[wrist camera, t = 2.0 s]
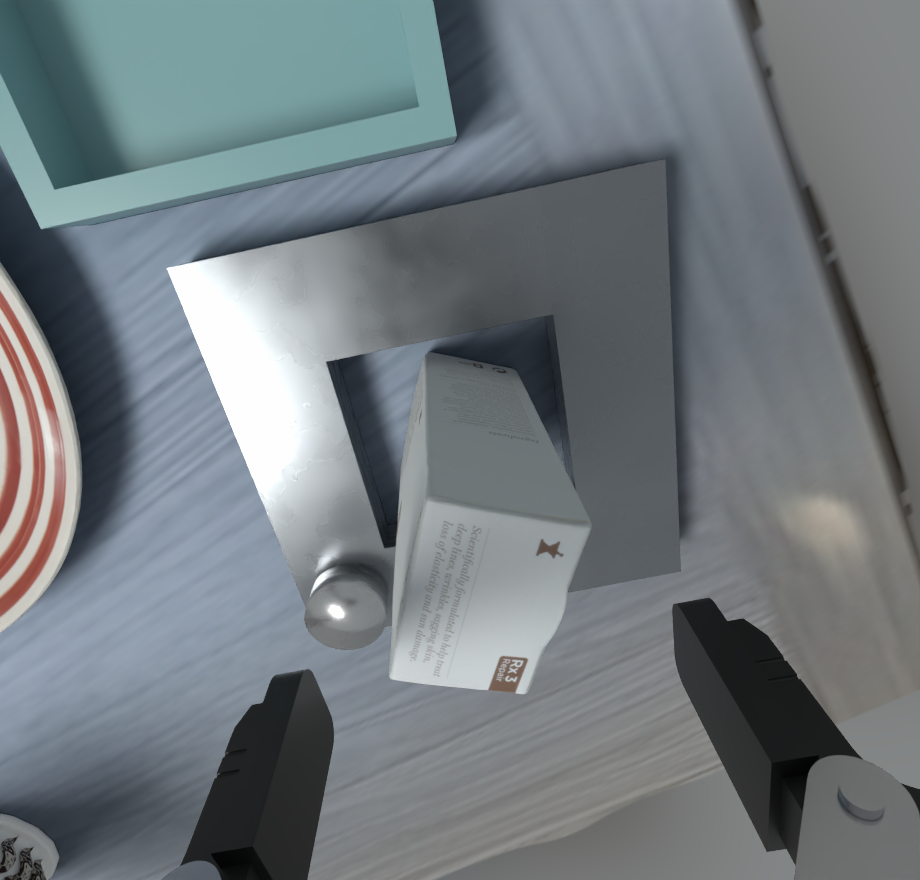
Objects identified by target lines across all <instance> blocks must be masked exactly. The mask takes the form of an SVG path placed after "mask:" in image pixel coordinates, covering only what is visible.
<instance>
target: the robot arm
mask: <svg viewBox="0 0 920 880" xmlns="http://www.w3.org/2000/svg"><path fill="white" fill-rule="evenodd" d="M672 613H673V632H674V651H675V660H676V665H677V669H678V673H679V676H680V678H681V681H682V684H683V686H684V688H685V690H686V692H687V694H688V696H689V698H690V700H691V702H692V704H693V706H694V708H695V710H696V712H697V714H698V716H699V718H700V720H701V722H702V724H703V726H704V728H705V730H706V732H707V734H708V736H709V738H710V740H711V742H712V744H713V746H714V748H715V750H716V752H717V754H718V756H719V757H720V759H721V761H722V763H723V765H724V767H725V769H726V771H727V773H728V775H729V777H730V779H731V781H732V783H733V785H734V787H735V789H736V791H737V793H738V795H739V797H740V799H741V801H742V803H743V805H744V807H745V809H746V811H747V813H748V815H749V817H750V819H751V821H752V823H753V825H754V827H755V829H756V831H757V833H758V835H759V837H760V839H761V841H762V843H763V845H764V847H765V849H766V851H767V852H769V851H775V850H781V849H787V851H788V852H789V854H790V856H791V858H792V860H793V862H794V863H795V866H796V867H795V875H794V880H920V789H916V788H913V787H910V786H907V785H904V784H902V783H900V782H899V781H898V780H896V779H895V778H894V777H893V776H892V775H891V774H889V773H888V772H886V771H885V770H883V769H882V768H880V767H878V766H876V765H874V764H873V763H870V762H868V761H865V760H863V759H862V758H861V757H860V756H859V755H858V754H857V753H856V752H855V750H854V749H853V748H852V747H851V746H850V744H849V743H848V741H847V740H846V739H845V738H844V736H843V735H842V733H841V732H840V731H839V730H838V728H837V727H836V726H835V724H834V723H833V722H832V720H831V719H830V718H829V716H828V715H827V714H826V712H825V711H824V710H823V708H822V707H821V706H820V704H819V703H818V702H817V700H816V699H815V698H814V696H813V695H812V694H811V692H810V691H809V690H808V688H807V687H806V686H805V685H804V683H803V682H802V681H801V679H798V677H797V674H796V673H795V671H794V670H793V669H792V667H791V666H790V665H789V663H788V662H787V661H785V660H784V658H783V655H782V654H781V653H780V651H779V650H778V649H777V647H776V646H775V645H774V643H773V642H772V641H771V640H770V638H769V637H768V636H767V635H766V634H765V633H763V632H762V631H760V630H759V629H758V628H756V627H755V626H753V625H752V624H750V623H749V622H747V621H746V620H745V619H738V620H732V621H727V620H726V619H725V617H724V616H723V614H722V613H721V611H720V610H719V609H718V607H717V606H716V604H715V603H714V602H713V600H712V599H710V598H705V599H699V600H694V601H688V602H683V603H677V604H674V605H673V609H672ZM333 742H334V729H333V722H332V717H331V714H330V712H329V710H328V707H327V705H326V703H325V700H324V698H323V696H322V693H321V691H320V689H319V686H318V684H317V682H316V679H315V677H314V675H313V673H312V671H311V670H309V669H307V670H301V671H296V672H290V673H285V674H279V675H275V676H274V677H273V678H272V680H271V682H270V684H269V687H268V690H267V693H266V696H265V699H264V701H263V703H261V704H255V705H252V706H251V707H250V708H249V710H248V711H247V712H246V714H245V715H244V716H243V718H242V719H241V720H240V721H239V723H238V724H237V725H236V727H235V728H234V731H233V733H232V736H231V738H230V741H229V744H228V746H227V749H226V751H225V757H223V759H222V762H221V764H220V767H219V769H218V772H217V778H215V780H214V782H213V785H212V787H211V790H210V793H209V795H208V798H207V800H206V803H205V805H204V808H203V811H202V813H201V816H200V818H199V821H198V823H197V826H196V829H195V831H194V834H193V836H192V839H191V842H190V844H189V847H188V849H187V852H186V854H185V857H184V859H183V861H182V863H181V865H180V867H178V868H176V869H174V870H173V871H172V872H170V873H169V874H168V875H166V876H165V877H164V878H163V879H162V880H307V878H308V873H309V868H310V862H311V857H312V852H313V847H314V842H315V837H316V832H317V826H318V821H319V816H320V811H321V806H322V801H323V795H324V790H325V785H326V780H327V775H328V770H329V765H330V759H331V754H332V749H333Z"/></svg>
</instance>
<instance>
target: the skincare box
mask: <svg viewBox="0 0 920 880" xmlns="http://www.w3.org/2000/svg"><path fill="white" fill-rule="evenodd" d="M591 527H592V524H591V521H590V518H589V516H588V514H587V512H586V510H585V508H584V506H583V504H582V502H581V500H580V498H579V496H578V494H577V492H576V490H575V488H574V486H573V484H572V482H571V480H570V478H569V476H568V474H567V472H566V470H565V468H564V466H563V464H562V462H561V460H560V458H559V456H558V454H557V452H556V450H555V448H554V446H553V444H552V442H551V440H550V438H549V435H548V433H547V431H546V429H545V427H544V425H543V424H542V422H541V419H540V417H539V415H538V413H537V411H536V409H535V407H534V405H533V403H532V401H531V399H530V397H529V395H528V393H527V391H526V389H525V387H524V385H523V382H522V381H521V379H520V377H519V374H518V373H517V371H516V370H514V369H512V368H507V367H502V366H497V365H492V364H488V363H482V362H477V361H473V360H468V359H463V358H458V357H453V356H448V355H443V354H438V353H433V352H429V353H427V354H426V355H425V357H424V359H423V363H422V366H421V370H420V374H419V378H418V381H417V385H416V389H415V393H414V398H413V402H412V407H411V412H410V417H409V422H408V427H407V433H406V439H405V445H404V451H403V458H402V465H401V477H400V492H399V507H398V524H397V532H396V553H395V570H394V586H393V607H392V639H391V655H390V668H389V677H390V678H391V679H393V680H399V681H406V682H413V683H420V684H429V685H439V686H449V687H460V688H470V689H479V690H491V691H502V692H512V693H518V694H526V693H527V692H528V691H529V689H530V688H531V685H532V682H533V679H534V676H535V674H536V671H537V669H538V666H539V664H540V661H541V658H542V656H543V653H544V650H545V648H546V645H547V644H548V642H549V641H550V640H551V638H552V637H553V635H554V633H555V632H556V630H557V628H558V626H559V624H560V622H561V619H562V617H563V615H564V611H565V608H566V603H567V597H568V589H569V586H570V584H571V581H572V578H573V575H574V573H575V570H576V567H577V565H578V562H579V560H580V557H581V554H582V551H583V549H584V546H585V543H586V541H587V538H588V536H589V533H590V531H591Z"/></svg>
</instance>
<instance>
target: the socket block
mask: <svg viewBox="0 0 920 880" xmlns="http://www.w3.org/2000/svg"><path fill="white" fill-rule="evenodd" d="M167 269H168V272H169V274H170V277H171V279H172V282H173V284H174V287H175V289H176V291H177V294H178V296H179V299H180V301H181V304H182V306H183V309H184V311H185V313H186V316H187V318H188V321H189V323H190V326H191V328H192V331H193V333H194V335H195V338H196V340H197V343H198V345H199V348H200V350H201V353H202V355H203V357H204V360H205V362H206V365H207V367H208V370H209V372H210V375H211V377H212V379H213V382H214V384H215V387H216V389H217V392H218V394H219V397H220V399H221V401H222V404H223V406H224V409H225V411H226V414H227V416H228V419H229V421H230V423H231V426H232V428H233V431H234V433H235V436H236V438H237V441H238V443H239V445H240V448H241V450H242V453H243V455H244V458H245V460H246V463H247V465H248V467H249V470H250V472H251V475H252V477H253V480H254V482H255V485H256V487H257V489H258V492H259V494H260V497H261V499H262V502H263V504H264V507H265V509H266V511H267V514H268V516H269V519H270V521H271V524H272V526H273V529H274V531H275V533H276V536H277V538H278V541H279V543H280V546H281V548H282V551H283V553H284V555H285V558H286V560H287V563H288V565H289V568H290V570H291V573H292V575H293V577H294V580H295V582H296V585H297V587H298V590H299V592H300V595H301V597H302V599H303V602H304V604H305V607H306V611H305V624H306V627H307V629H308V631H309V632H310V634H311V635H312V636H313V637H314V638H315V639H316V640H317V641H319V642H320V643H322V644H324V645H326V646H329V647H331V648H335V649H341V650H352V649H358V648H362V647H365V646H367V645H369V644H371V643H372V642H374V641H375V640H376V639H377V638H378V637H379V636H380V635H381V633H382V632H383V630H384V627H387V626H392V607H393V586H394V570H395V553H396V532H397V524H398V523H393V524H387V521H386V518H385V514H384V511H383V508H382V504H381V501H380V498H379V494H378V491H377V488H376V485H375V481H374V478H373V475H372V471H371V468H370V465H369V461H368V458H367V455H366V452H365V448H364V445H363V442H362V438H361V435H360V432H359V429H358V425H357V422H356V419H355V415H354V412H353V409H352V405H351V402H350V399H349V396H348V392H347V389H346V386H345V382H344V379H343V376H342V372H341V369H340V366H339V363H338V359H342V358H347V357H352V356H356V355H361V354H366V353H371V352H376V351H380V350H385V349H390V348H395V347H400V346H404V345H409V344H414V343H419V342H423V341H428V340H433V339H438V338H443V337H447V336H452V335H457V334H462V333H466V332H471V331H476V330H481V329H486V328H490V327H495V326H500V325H505V324H509V323H514V322H519V321H524V320H529V319H533V318H538V317H543V316H545V318H546V325H547V332H548V340H549V347H550V355H551V362H552V370H553V377H554V385H555V392H556V400H557V407H558V415H559V422H560V430H561V437H562V445H563V452H564V460H565V467H566V472H567V474H568V476H569V478H570V480H571V482H572V484H573V486H574V488H575V490H576V492H577V494H578V496H579V498H580V500H581V502H582V504H583V506H584V508H585V510H586V512H587V514H588V516H589V518H590V521H591V524H592V527H591V531H590V533H589V536H588V538H587V541H586V543H585V546H584V549H583V551H582V554H581V557H580V560H579V562H578V565H577V567H576V570H575V573H574V575H573V578H572V581H571V584H570V586H569V589H568V592H573V591H579V590H584V589H589V588H595V587H600V586H605V585H611V584H616V583H621V582H627V581H632V580H637V579H643V578H648V577H653V576H659V575H664V574H669V573H675V572H680V571H681V563H680V536H679V509H678V482H677V455H676V428H675V401H674V374H673V347H672V320H671V293H670V266H669V239H668V212H667V185H666V159H663V160H657V161H651V162H645V163H640V164H636V165H631V166H627V167H622V168H617V169H613V170H608V171H604V172H599V173H595V174H590V175H586V176H581V177H576V178H572V179H567V180H563V181H558V182H554V183H549V184H544V185H540V186H535V187H531V188H526V189H522V190H517V191H513V192H508V193H503V194H499V195H494V196H490V197H485V198H481V199H476V200H472V201H467V202H462V203H458V204H453V205H449V206H444V207H440V208H435V209H430V210H426V211H421V212H417V213H412V214H408V215H403V216H399V217H394V218H389V219H385V220H380V221H376V222H371V223H367V224H362V225H357V226H353V227H348V228H344V229H339V230H335V231H330V232H326V233H321V234H316V235H312V236H307V237H303V238H298V239H294V240H289V241H285V242H280V243H275V244H271V245H266V246H262V247H257V248H253V249H248V250H243V251H239V252H234V253H230V254H225V255H221V256H216V257H212V258H207V259H202V260H198V261H193V262H189V263H185V264H181V265H178V266H174V267H170V268H167Z"/></svg>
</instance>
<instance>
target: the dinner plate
mask: <svg viewBox="0 0 920 880" xmlns="http://www.w3.org/2000/svg"><path fill="white" fill-rule="evenodd" d="M81 493H82V460H81V448H80V441H79V435H78V430H77V425H76V420H75V415H74V412H73V408H72V405H71V401H70V398H69V394H68V391H67V387H66V385H65V382H64V380H63V377H62V375H61V372H60V369H59V367H58V365H57V362H56V360H55V357H54V355H53V352H52V350H51V348H50V346H49V344H48V341H47V339H46V337H45V335H44V333H43V331H42V329H41V327H40V326H39V324H38V322H37V320H36V318H35V316H34V315H33V313H32V311H31V309H30V307H29V306H28V304H27V303H26V301H25V300H24V298H23V296H22V295H21V293H20V291H19V290H18V288H17V287H16V285H15V283H14V282H13V280H12V279H11V277H10V276H9V274H8V273H7V271H6V270H5V268H4V267H3V265H2V264H1V262H0V632H2V631H3V630H5V629H6V628H8V627H9V626H11V625H12V624H13V623H14V622H16V621H17V620H18V619H19V618H20V617H21V616H22V615H24V614H25V613H26V612H27V611H28V610H29V609H30V608H31V607H32V606H33V605H34V604H35V603H36V602H37V601H38V600H39V599H40V597H41V596H42V595H43V594H44V593H45V591H46V590H47V589H48V587H49V586H50V584H51V583H52V582H53V580H54V579H55V577H56V575H57V573H58V572H59V570H60V568H61V566H62V564H63V562H64V560H65V558H66V556H67V554H68V552H69V549H70V546H71V543H72V540H73V537H74V533H75V529H76V525H77V520H78V516H79V511H80V505H81Z"/></svg>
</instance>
